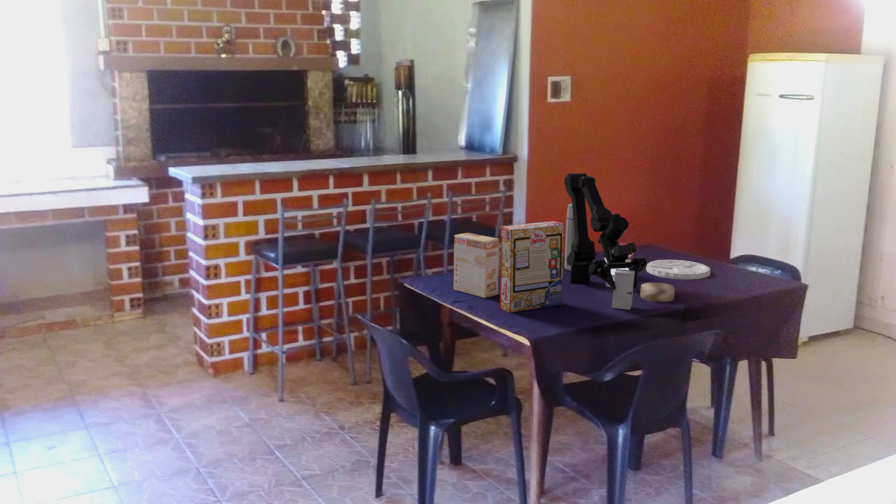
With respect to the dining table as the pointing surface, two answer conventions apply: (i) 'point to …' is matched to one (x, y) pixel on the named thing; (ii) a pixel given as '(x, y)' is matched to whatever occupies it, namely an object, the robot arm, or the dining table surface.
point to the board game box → (531, 266)
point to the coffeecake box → (476, 264)
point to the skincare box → (623, 289)
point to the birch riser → (657, 292)
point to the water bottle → (569, 234)
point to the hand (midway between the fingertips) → (625, 288)
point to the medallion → (678, 269)
